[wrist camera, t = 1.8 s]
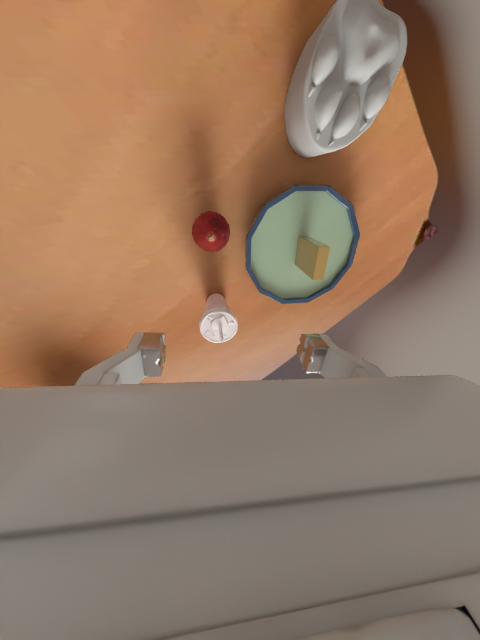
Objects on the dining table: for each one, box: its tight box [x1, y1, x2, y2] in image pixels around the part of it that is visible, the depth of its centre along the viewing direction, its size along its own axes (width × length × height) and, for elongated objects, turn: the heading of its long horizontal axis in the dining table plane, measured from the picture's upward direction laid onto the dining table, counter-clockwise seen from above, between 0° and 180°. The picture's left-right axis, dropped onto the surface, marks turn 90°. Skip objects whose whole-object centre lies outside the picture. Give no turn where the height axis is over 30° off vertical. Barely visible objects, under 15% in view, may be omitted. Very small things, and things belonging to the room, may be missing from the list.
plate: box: [245, 185, 360, 304], centre depth 37 cm, size 20×20×9 cm
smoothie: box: [199, 294, 238, 343], centre depth 39 cm, size 6×6×14 cm
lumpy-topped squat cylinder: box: [285, 0, 407, 158], centre depth 28 cm, size 10×13×9 cm
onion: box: [192, 211, 230, 252], centre depth 35 cm, size 6×6×8 cm
